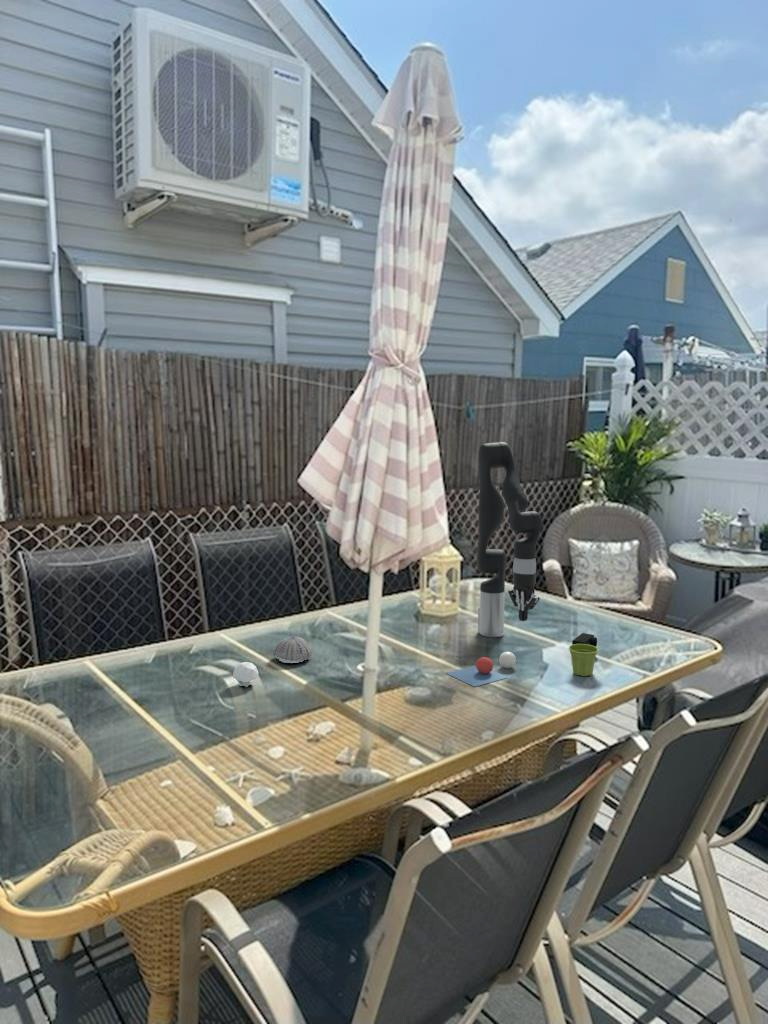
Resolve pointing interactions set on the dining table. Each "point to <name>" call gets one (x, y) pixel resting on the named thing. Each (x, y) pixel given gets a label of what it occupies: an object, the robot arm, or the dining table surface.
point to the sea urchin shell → (293, 649)
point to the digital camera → (585, 639)
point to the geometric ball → (245, 672)
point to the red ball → (484, 665)
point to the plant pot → (583, 658)
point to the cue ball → (507, 659)
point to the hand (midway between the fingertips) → (523, 620)
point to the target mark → (475, 676)
